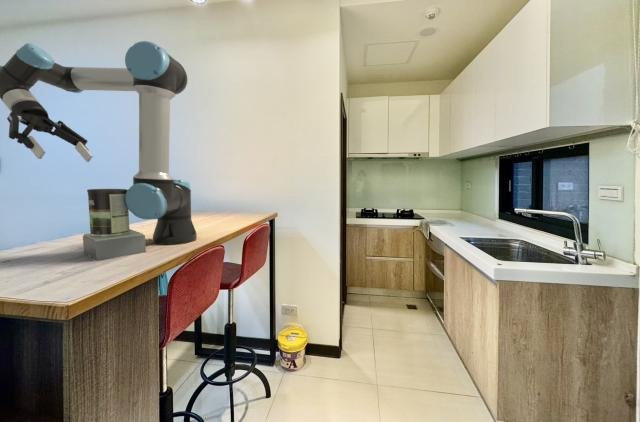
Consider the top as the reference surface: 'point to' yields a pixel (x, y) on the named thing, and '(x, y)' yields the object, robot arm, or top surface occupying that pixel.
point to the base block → (114, 245)
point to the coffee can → (108, 212)
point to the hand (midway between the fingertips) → (67, 157)
